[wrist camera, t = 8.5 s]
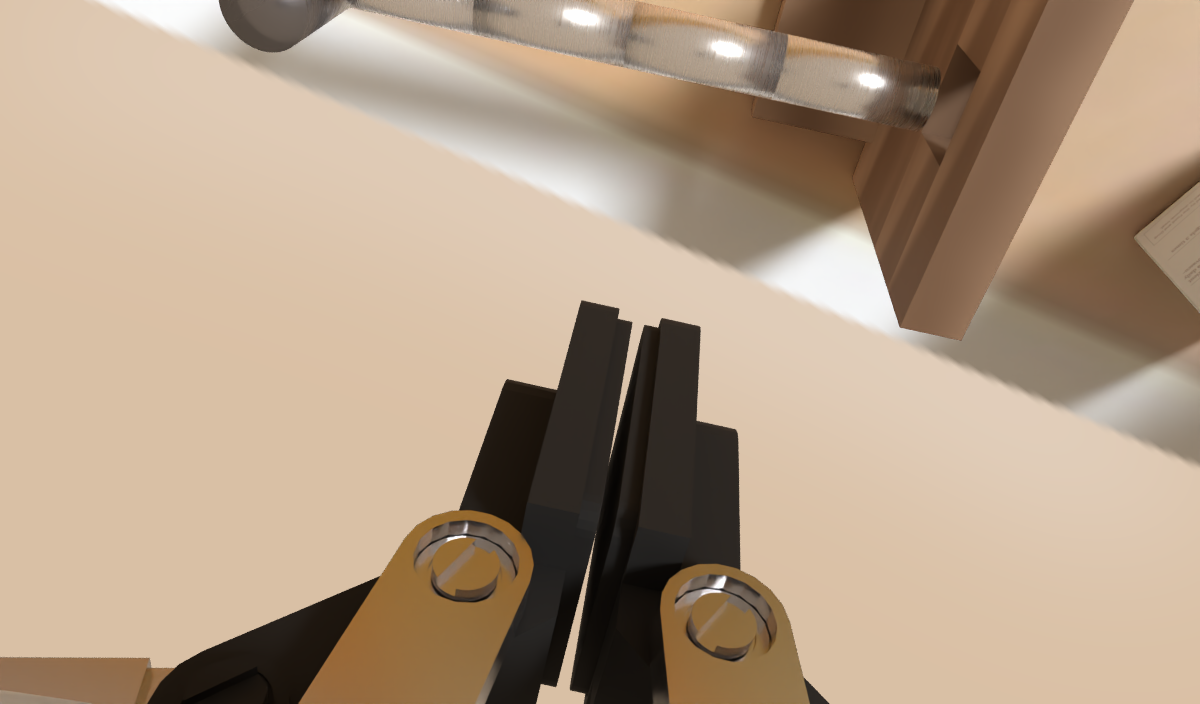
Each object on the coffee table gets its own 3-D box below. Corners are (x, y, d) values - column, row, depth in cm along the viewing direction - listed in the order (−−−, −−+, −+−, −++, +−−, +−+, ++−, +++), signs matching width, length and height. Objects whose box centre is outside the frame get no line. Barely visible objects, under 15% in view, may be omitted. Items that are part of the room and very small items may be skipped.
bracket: (1023, -122, 31) (1166, -65, 21) (897, 188, 38) (961, 340, 28) (830, -165, 31) (882, -128, 21) (738, 153, 38) (746, 294, 28)
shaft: (935, 52, 28) (981, 116, 23) (906, 124, 29) (945, 199, 24) (304, -86, 28) (215, -51, 23) (305, -7, 29) (221, 42, 24)
